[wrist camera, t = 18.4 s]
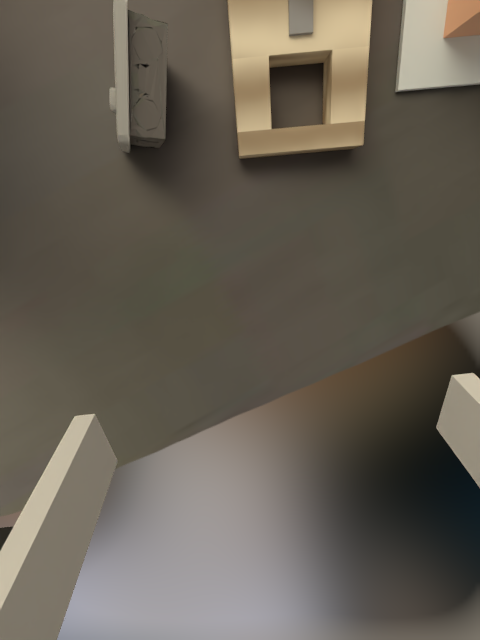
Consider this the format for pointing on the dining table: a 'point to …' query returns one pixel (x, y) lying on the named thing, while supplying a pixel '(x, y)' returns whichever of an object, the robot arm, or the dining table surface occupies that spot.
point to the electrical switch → (139, 78)
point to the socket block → (298, 49)
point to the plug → (462, 18)
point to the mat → (433, 50)
